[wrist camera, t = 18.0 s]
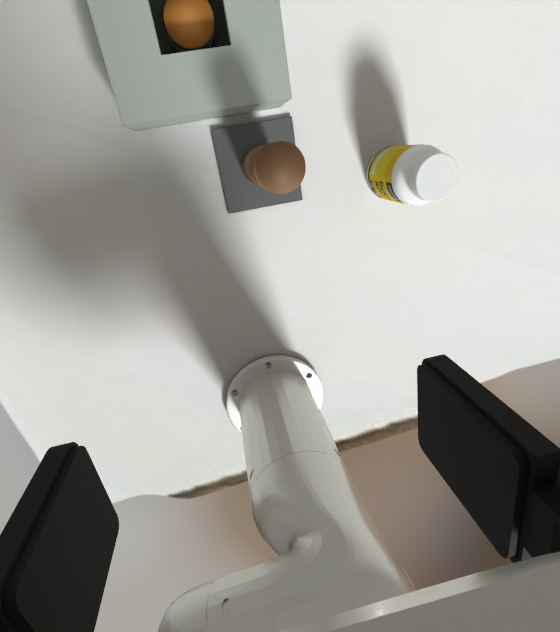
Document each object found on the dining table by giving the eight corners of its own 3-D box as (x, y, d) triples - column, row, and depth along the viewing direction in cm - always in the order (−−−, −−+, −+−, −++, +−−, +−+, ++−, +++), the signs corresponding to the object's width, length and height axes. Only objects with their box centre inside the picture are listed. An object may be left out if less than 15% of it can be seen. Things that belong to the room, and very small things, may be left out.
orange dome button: (218, 53, 35) (218, 44, 32) (174, 60, 34) (171, 51, 32) (208, -1, 33) (208, -16, 30) (161, 5, 33) (157, -9, 30)
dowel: (278, 181, 40) (308, 189, 28) (245, 186, 39) (261, 197, 27) (273, 144, 38) (302, 137, 26) (238, 150, 38) (252, 145, 26)
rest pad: (301, 199, 41) (302, 199, 41) (228, 213, 40) (228, 213, 40) (290, 117, 38) (291, 116, 38) (211, 130, 37) (211, 129, 37)
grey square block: (279, 107, 37) (291, 98, 32) (135, 130, 36) (122, 125, 31) (253, -81, 32) (262, -131, 26) (82, -62, 30) (54, -111, 25)
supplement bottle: (355, 183, 41) (396, 189, 33) (383, 136, 40) (433, 128, 31) (393, 208, 43) (441, 220, 34) (421, 163, 42) (478, 164, 33)
